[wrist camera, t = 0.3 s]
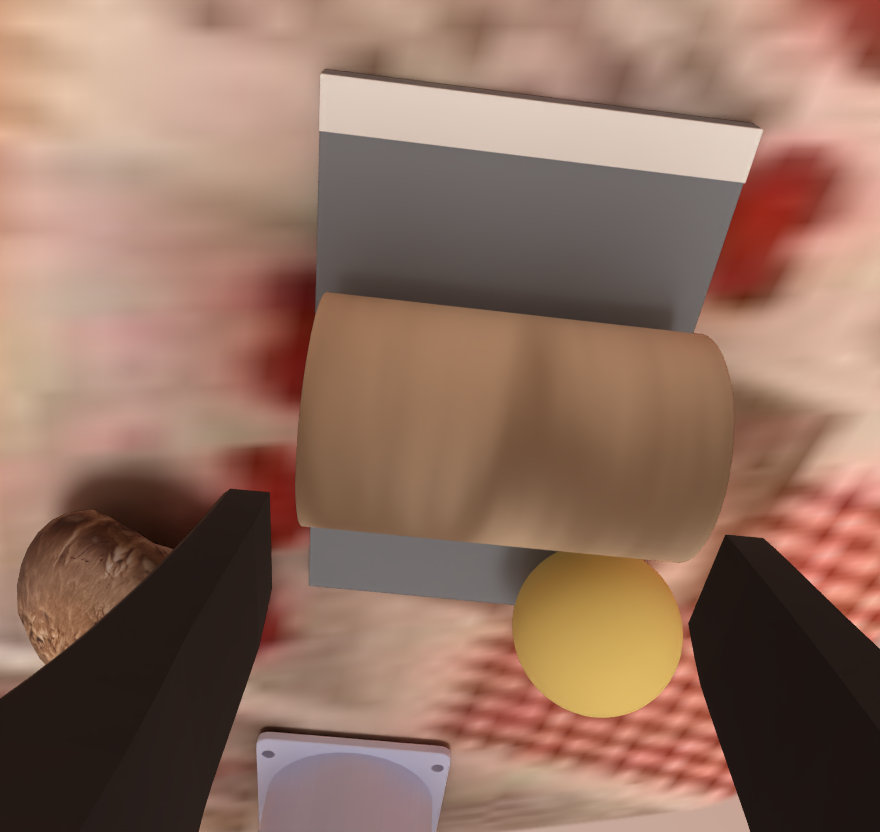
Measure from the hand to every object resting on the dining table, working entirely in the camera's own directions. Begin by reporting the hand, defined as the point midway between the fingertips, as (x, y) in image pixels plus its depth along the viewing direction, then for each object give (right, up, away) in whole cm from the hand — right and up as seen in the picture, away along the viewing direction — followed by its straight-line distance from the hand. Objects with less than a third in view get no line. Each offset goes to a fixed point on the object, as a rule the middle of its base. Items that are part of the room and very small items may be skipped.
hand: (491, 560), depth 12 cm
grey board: (+1, +3, +10) cm, 10 cm away
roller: (+1, +4, +9) cm, 10 cm away
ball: (+4, -3, +13) cm, 13 cm away
